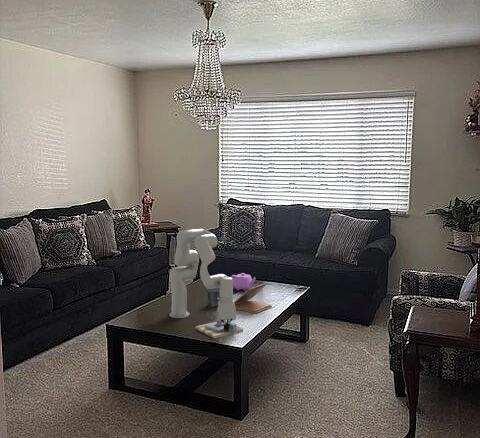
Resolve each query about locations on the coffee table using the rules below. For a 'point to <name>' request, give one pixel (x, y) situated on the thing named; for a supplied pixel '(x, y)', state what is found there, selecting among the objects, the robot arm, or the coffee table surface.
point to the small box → (213, 298)
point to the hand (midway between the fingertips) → (226, 330)
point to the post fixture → (214, 333)
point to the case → (251, 305)
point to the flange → (222, 327)
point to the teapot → (242, 281)
